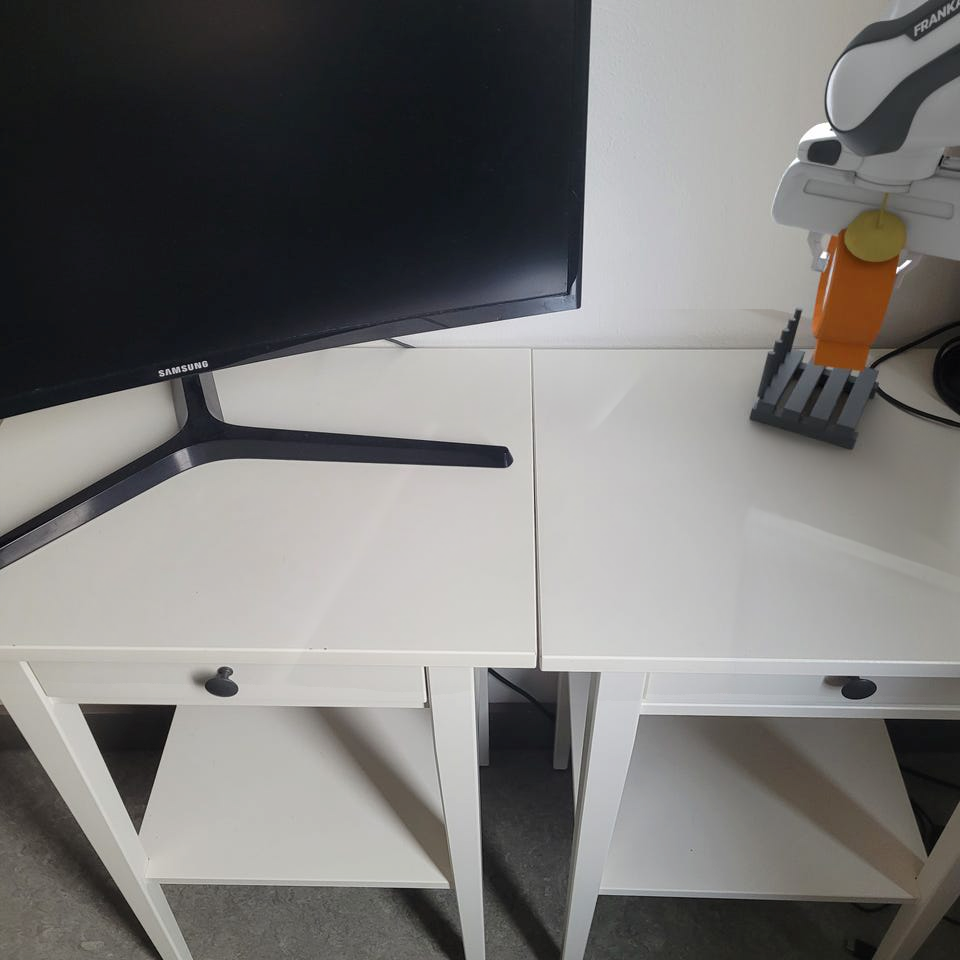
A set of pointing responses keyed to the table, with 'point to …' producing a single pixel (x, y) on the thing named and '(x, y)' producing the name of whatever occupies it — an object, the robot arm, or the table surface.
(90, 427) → the table surface
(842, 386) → the rack
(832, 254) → the alarm clock
